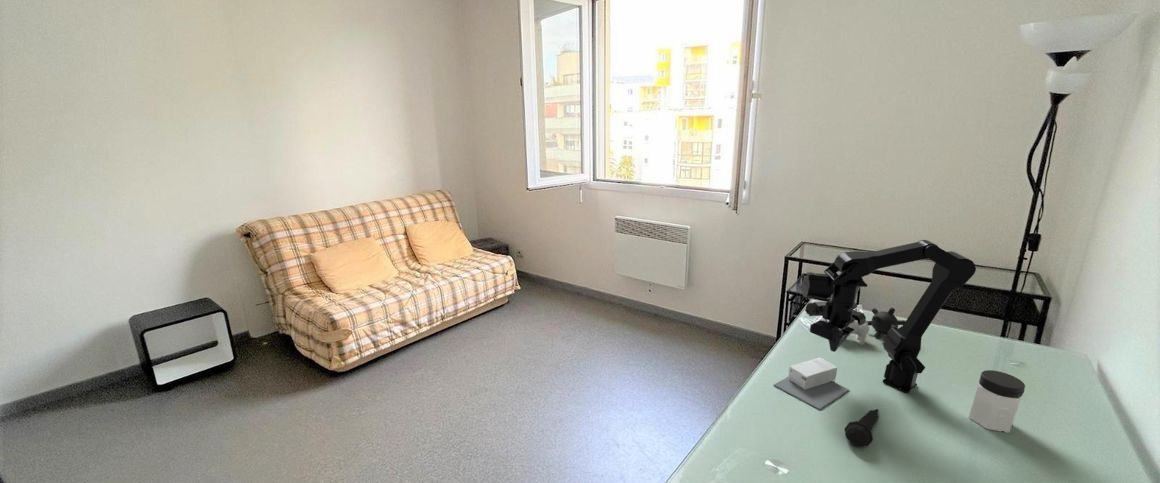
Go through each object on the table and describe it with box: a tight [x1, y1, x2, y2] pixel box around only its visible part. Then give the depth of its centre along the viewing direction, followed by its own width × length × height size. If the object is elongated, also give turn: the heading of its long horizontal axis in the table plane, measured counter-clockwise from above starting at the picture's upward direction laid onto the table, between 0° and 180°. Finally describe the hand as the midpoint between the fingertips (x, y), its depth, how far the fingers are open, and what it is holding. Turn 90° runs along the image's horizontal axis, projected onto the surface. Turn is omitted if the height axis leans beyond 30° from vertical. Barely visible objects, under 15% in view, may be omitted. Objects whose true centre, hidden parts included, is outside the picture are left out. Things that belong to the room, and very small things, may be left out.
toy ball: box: [867, 307, 906, 339], centre depth 161 cm, size 11×11×12 cm
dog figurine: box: [849, 319, 870, 345], centre depth 157 cm, size 5×13×11 cm, turn 75°
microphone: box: [844, 408, 879, 448], centre depth 115 cm, size 6×6×20 cm
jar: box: [968, 369, 1026, 433], centre depth 117 cm, size 9×8×12 cm
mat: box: [773, 376, 850, 411], centre depth 131 cm, size 13×15×1 cm
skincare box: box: [787, 357, 838, 390], centre depth 134 cm, size 6×4×12 cm
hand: (833, 350), depth 134 cm, fingers closed
